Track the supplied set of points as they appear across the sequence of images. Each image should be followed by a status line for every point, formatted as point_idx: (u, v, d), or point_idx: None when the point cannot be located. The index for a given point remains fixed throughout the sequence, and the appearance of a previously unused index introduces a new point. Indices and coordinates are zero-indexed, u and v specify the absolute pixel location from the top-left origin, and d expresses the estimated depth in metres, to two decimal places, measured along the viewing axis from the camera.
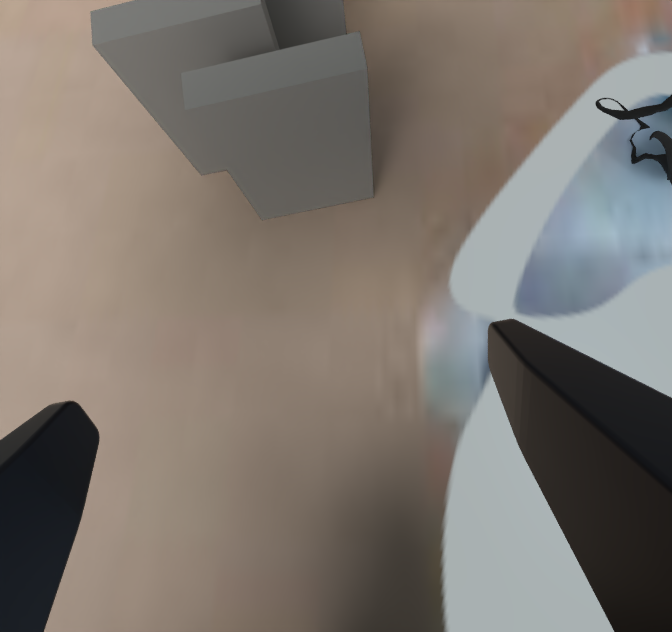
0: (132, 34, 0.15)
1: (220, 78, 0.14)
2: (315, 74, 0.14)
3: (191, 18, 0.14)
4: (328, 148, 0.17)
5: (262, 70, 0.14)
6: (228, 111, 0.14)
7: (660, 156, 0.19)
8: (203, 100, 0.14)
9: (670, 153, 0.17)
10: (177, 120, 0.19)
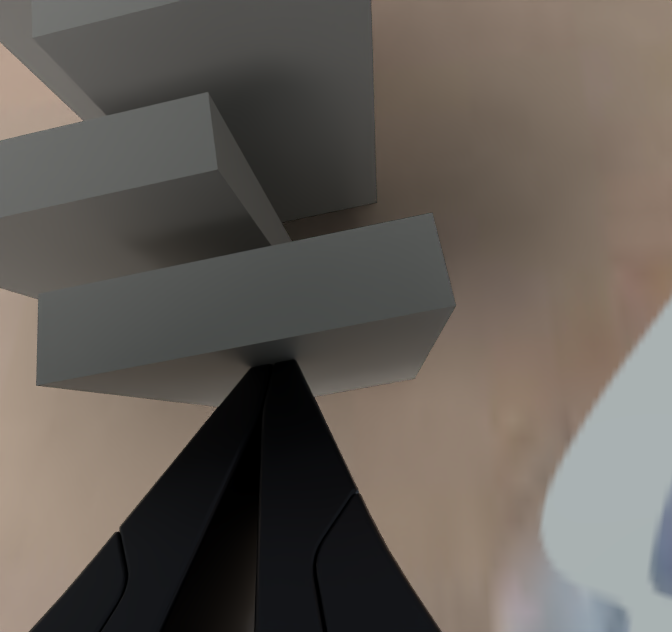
0: None
1: (121, 311, 0.06)
2: (333, 314, 0.06)
3: (70, 195, 0.07)
4: (351, 367, 0.09)
5: (213, 297, 0.06)
6: (142, 373, 0.06)
7: None
8: (78, 364, 0.06)
9: None
10: None
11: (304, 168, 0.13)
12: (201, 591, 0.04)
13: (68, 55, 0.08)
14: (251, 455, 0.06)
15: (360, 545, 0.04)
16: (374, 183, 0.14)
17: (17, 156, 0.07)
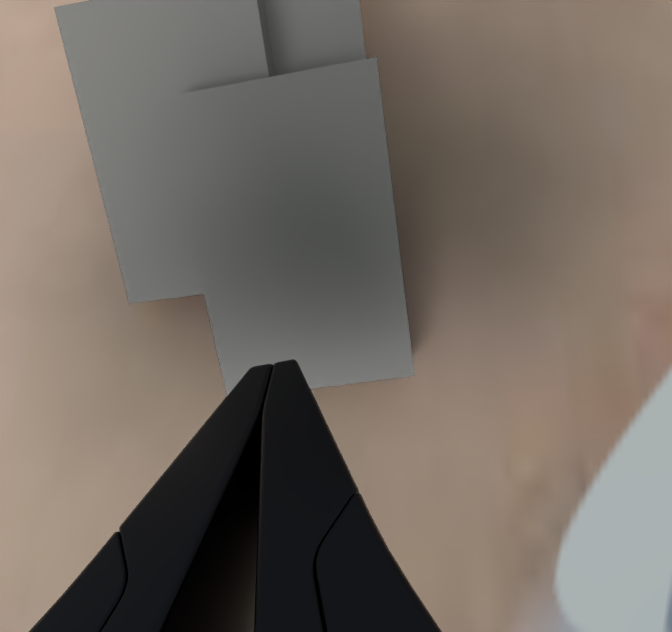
0: (102, 2, 0.13)
1: None
2: None
3: None
4: (333, 215, 0.12)
5: None
6: (208, 109, 0.12)
7: None
8: (184, 95, 0.12)
9: None
10: (119, 160, 0.14)
11: None
12: (201, 591, 0.04)
13: None
14: (251, 454, 0.06)
15: (360, 545, 0.04)
16: None
17: None
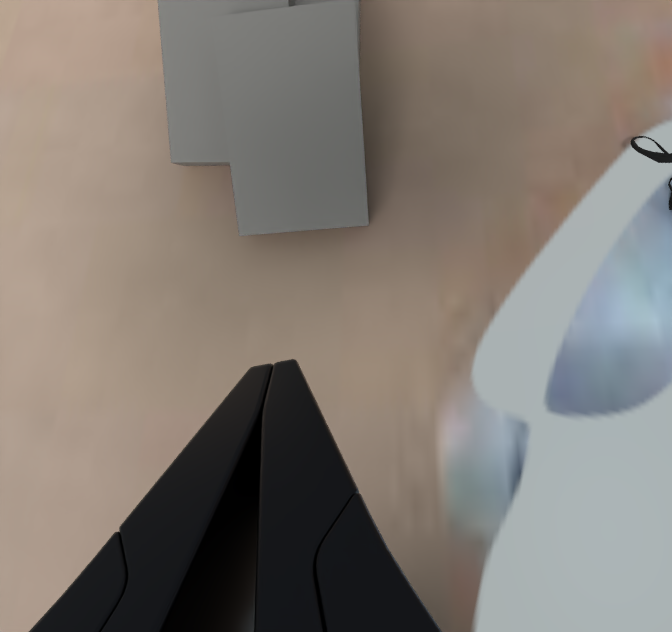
0: None
1: None
2: (315, 5, 0.18)
3: None
4: (320, 105, 0.18)
5: None
6: (242, 26, 0.18)
7: None
8: (227, 16, 0.18)
9: None
10: (179, 58, 0.20)
11: None
12: (201, 591, 0.04)
13: None
14: (251, 455, 0.06)
15: (360, 545, 0.04)
16: None
17: None
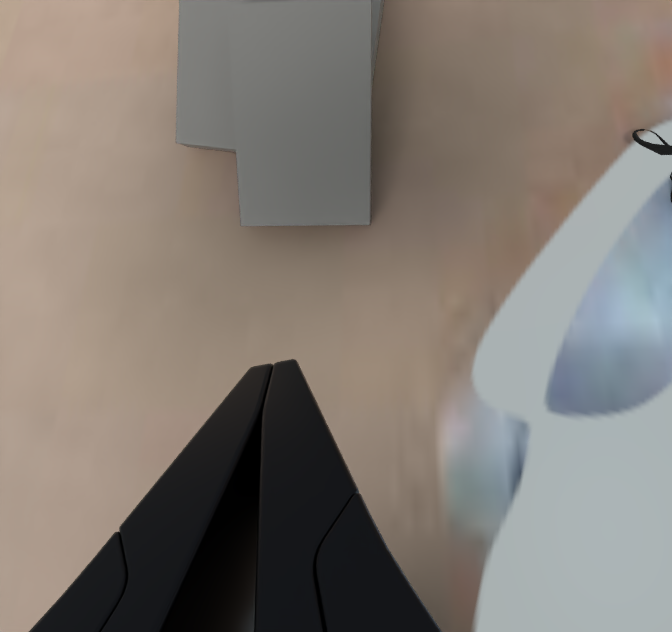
0: None
1: None
2: None
3: None
4: (329, 100, 0.18)
5: None
6: (257, 16, 0.18)
7: None
8: (242, 6, 0.18)
9: None
10: (195, 39, 0.20)
11: None
12: (201, 591, 0.04)
13: None
14: (251, 454, 0.06)
15: (360, 545, 0.04)
16: None
17: None
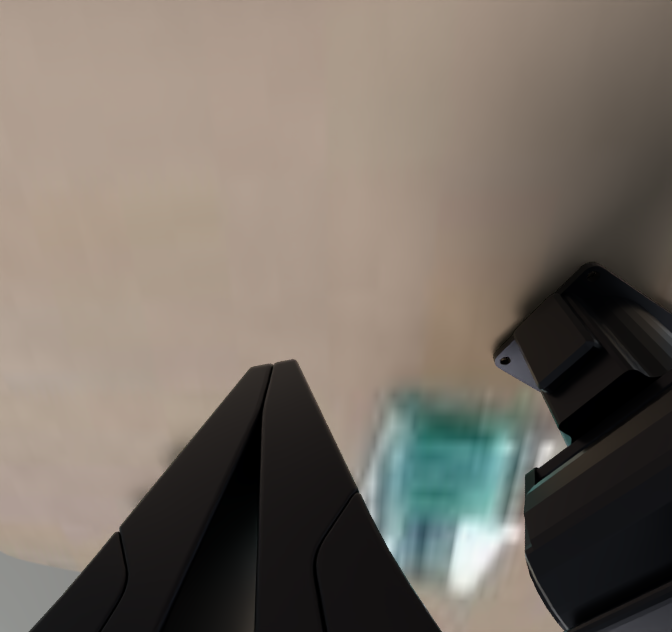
0: None
1: None
2: None
3: None
4: None
5: None
6: None
7: None
8: None
9: None
10: None
11: None
12: (201, 591, 0.04)
13: None
14: (250, 454, 0.06)
15: (360, 545, 0.04)
16: None
17: None
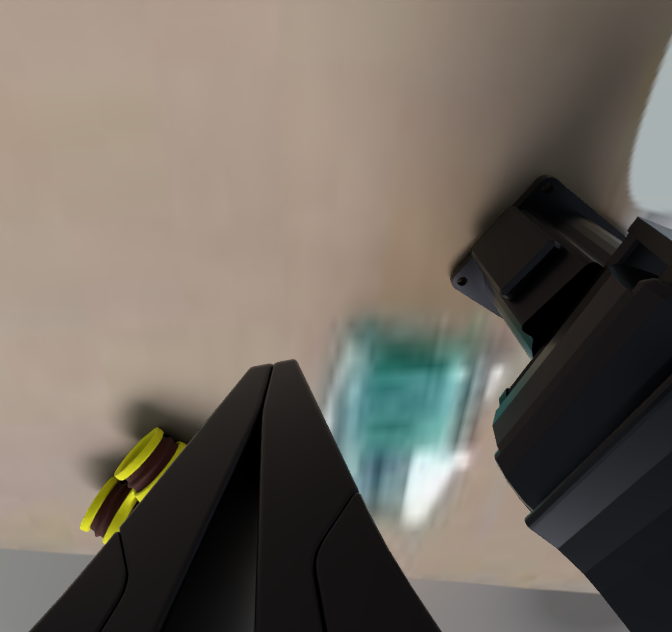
0: None
1: None
2: None
3: None
4: None
5: None
6: None
7: None
8: None
9: None
10: None
11: None
12: (201, 591, 0.04)
13: None
14: (251, 455, 0.06)
15: (360, 545, 0.04)
16: None
17: None
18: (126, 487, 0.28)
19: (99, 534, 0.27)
